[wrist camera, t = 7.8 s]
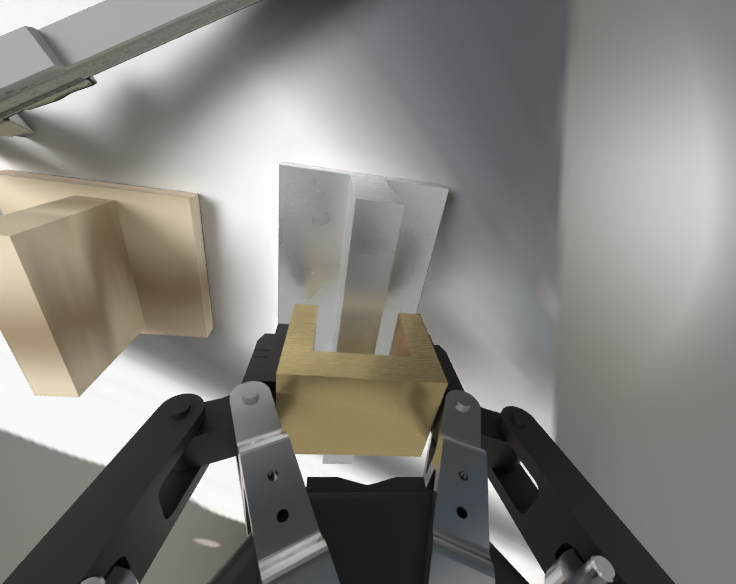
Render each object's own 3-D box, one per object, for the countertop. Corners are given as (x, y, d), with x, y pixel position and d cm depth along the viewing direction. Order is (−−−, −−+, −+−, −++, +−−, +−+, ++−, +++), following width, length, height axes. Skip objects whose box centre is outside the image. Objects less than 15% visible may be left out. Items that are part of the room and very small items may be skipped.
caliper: (-1, 155, 14) (-229, 178, 8) (-25, 130, 13) (-287, 136, 8) (430, -78, 11) (518, -268, 6) (421, -120, 11) (509, -374, 5)
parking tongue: (8, 169, 14) (-199, 199, 8) (198, 193, 15) (120, 232, 10) (65, 317, 17) (-52, 401, 12) (213, 327, 18) (164, 407, 13)
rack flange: (282, 162, 14) (250, 184, 9) (443, 185, 16) (495, 216, 10) (280, 378, 21) (260, 463, 16) (392, 383, 22) (409, 464, 17)
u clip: (294, 303, 13) (275, 373, 9) (419, 314, 14) (448, 383, 10) (292, 372, 15) (275, 453, 11) (402, 378, 16) (420, 456, 12)
